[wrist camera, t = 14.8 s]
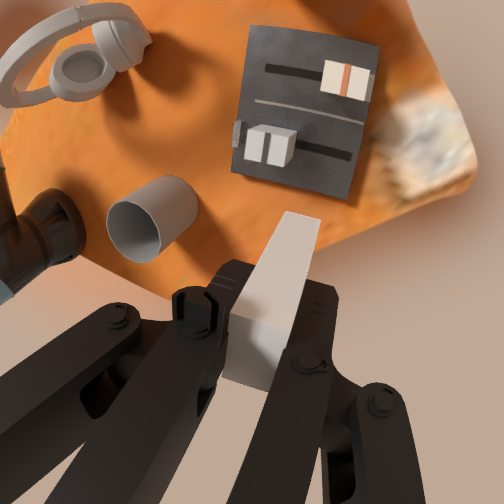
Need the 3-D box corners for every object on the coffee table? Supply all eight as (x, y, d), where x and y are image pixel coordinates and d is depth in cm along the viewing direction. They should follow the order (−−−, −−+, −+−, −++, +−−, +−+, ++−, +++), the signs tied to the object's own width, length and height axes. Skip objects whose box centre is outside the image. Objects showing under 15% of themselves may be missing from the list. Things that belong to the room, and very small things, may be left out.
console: (236, 168, 38) (227, 174, 36) (255, 27, 29) (246, 22, 26) (347, 194, 36) (346, 203, 33) (378, 49, 26) (381, 44, 24)
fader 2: (324, 91, 29) (319, 91, 24) (329, 64, 27) (325, 59, 23) (361, 100, 28) (364, 101, 24) (367, 73, 26) (370, 69, 22)
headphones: (91, 110, 40) (-18, 144, 24) (75, 70, 37) (-32, 90, 21) (186, 45, 32) (62, 34, 15) (165, -1, 29) (45, -28, 12)
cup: (188, 238, 46) (152, 274, 38) (144, 213, 46) (103, 242, 38) (206, 191, 41) (168, 221, 33) (157, 165, 42) (112, 188, 33)
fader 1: (258, 149, 34) (243, 159, 30) (261, 123, 32) (247, 129, 28) (292, 157, 33) (283, 168, 29) (297, 130, 32) (288, 137, 27)
